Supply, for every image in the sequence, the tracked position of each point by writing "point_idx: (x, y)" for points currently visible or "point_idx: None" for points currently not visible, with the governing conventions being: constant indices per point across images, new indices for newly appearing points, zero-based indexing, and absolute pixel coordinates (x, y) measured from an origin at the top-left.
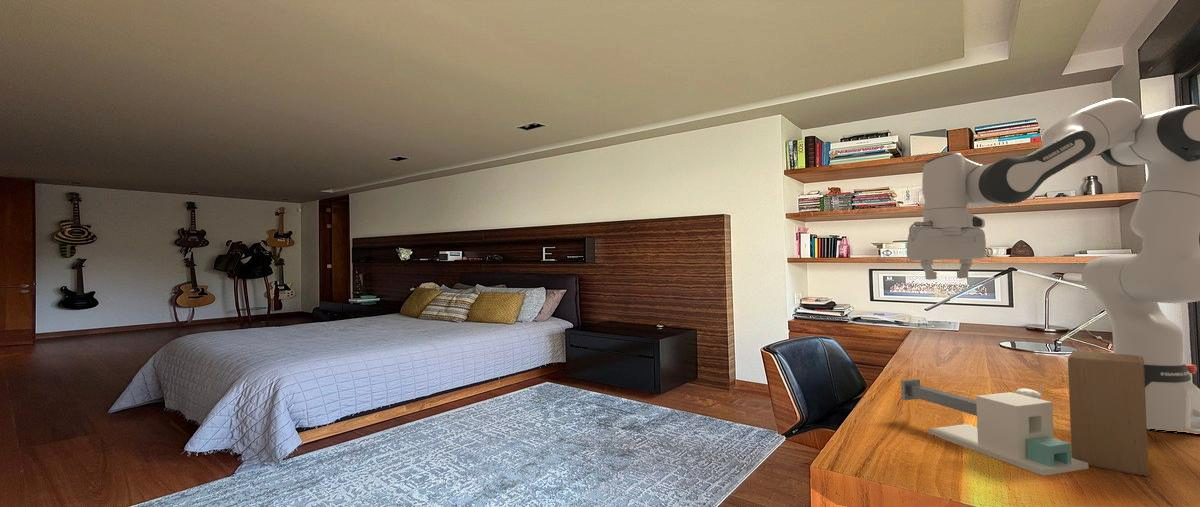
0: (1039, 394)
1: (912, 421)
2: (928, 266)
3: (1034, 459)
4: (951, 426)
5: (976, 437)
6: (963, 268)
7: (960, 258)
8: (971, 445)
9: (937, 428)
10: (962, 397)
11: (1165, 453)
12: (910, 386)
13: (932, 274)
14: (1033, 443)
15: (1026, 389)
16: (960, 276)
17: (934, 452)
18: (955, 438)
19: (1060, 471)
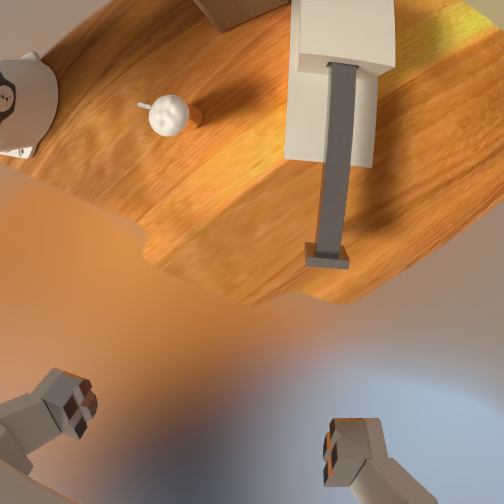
0: (163, 96)
1: None
2: (427, 491)
3: None
4: (322, 159)
5: None
6: (38, 426)
7: (50, 492)
8: (377, 87)
9: (354, 162)
10: (334, 134)
11: (133, 3)
12: (339, 250)
13: (377, 442)
14: None
15: (168, 114)
16: (85, 398)
17: (432, 108)
18: (374, 115)
19: None
